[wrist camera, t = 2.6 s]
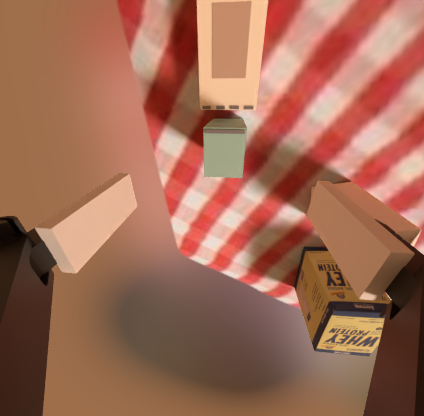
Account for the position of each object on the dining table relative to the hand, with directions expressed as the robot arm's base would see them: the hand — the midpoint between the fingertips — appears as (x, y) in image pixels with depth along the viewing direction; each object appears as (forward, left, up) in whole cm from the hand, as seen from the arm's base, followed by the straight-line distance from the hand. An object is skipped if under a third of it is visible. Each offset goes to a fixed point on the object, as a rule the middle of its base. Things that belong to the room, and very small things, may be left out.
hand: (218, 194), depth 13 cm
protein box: (+31, +25, -23) cm, 46 cm away
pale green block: (0, 0, -23) cm, 23 cm away
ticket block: (-11, 0, -23) cm, 25 cm away
